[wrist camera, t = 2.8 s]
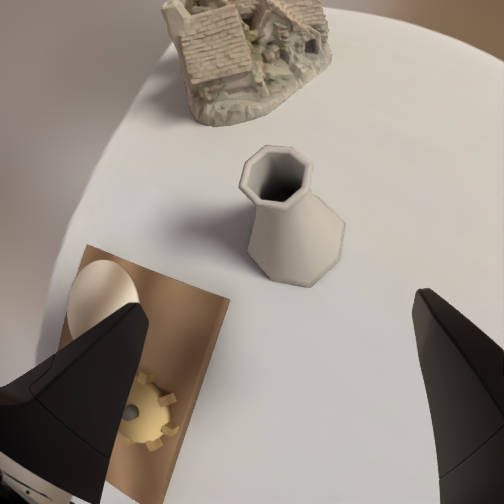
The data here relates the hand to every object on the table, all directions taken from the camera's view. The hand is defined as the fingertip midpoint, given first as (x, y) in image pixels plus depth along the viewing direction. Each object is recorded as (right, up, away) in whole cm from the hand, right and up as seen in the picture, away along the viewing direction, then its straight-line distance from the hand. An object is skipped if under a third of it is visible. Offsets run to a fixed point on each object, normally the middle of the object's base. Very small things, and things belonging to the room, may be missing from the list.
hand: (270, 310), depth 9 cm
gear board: (-13, -10, +14) cm, 21 cm away
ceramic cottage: (0, +21, +19) cm, 28 cm away
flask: (+3, +3, +13) cm, 14 cm away
